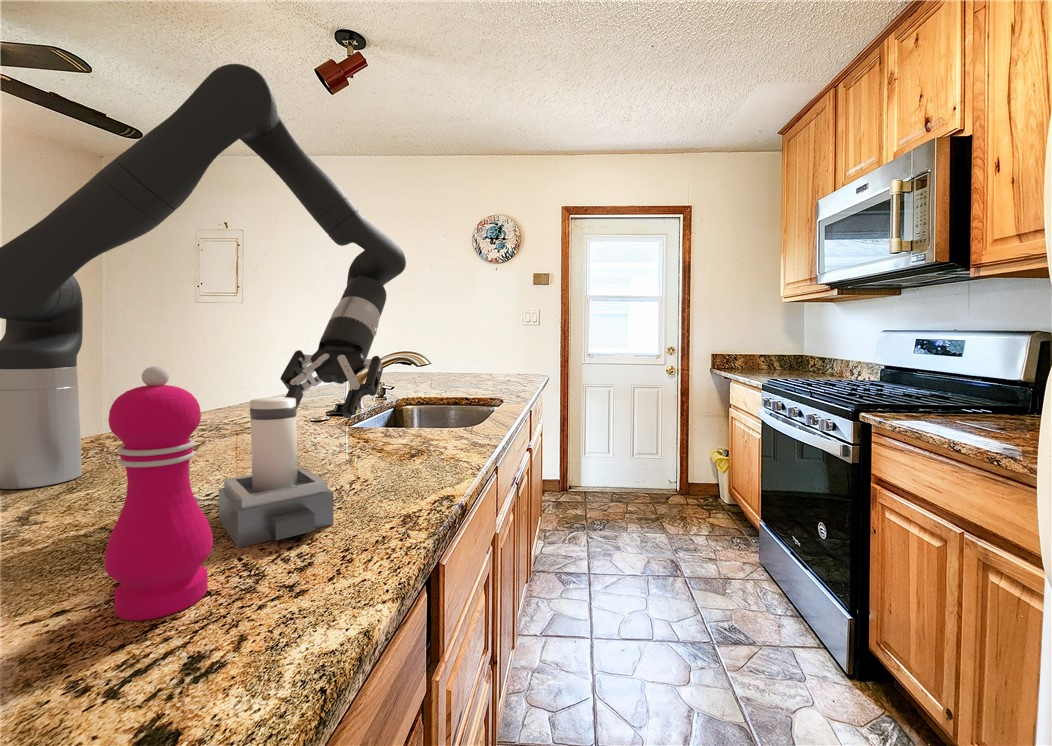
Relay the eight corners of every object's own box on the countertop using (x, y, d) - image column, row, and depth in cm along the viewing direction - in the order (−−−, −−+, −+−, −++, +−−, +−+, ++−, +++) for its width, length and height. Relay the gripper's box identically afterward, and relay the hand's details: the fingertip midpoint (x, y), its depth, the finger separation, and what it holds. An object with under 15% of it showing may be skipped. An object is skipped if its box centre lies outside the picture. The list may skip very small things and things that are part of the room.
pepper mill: (233, 587, 42) (228, 365, 41) (146, 634, 35) (135, 370, 34) (177, 572, 45) (170, 362, 43) (85, 614, 38) (73, 366, 36)
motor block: (219, 520, 57) (218, 478, 57) (305, 502, 64) (305, 465, 64) (244, 556, 48) (242, 506, 48) (341, 530, 55) (340, 487, 55)
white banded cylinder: (247, 489, 57) (245, 399, 56) (290, 481, 60) (289, 396, 59) (258, 499, 53) (255, 403, 52) (303, 490, 57) (301, 400, 56)
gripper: (301, 312, 75) (258, 395, 66) (388, 317, 75) (357, 403, 65) (318, 342, 81) (281, 422, 72) (398, 347, 81) (371, 429, 71)
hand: (317, 413), depth 68 cm, fingers open, 8 cm apart
